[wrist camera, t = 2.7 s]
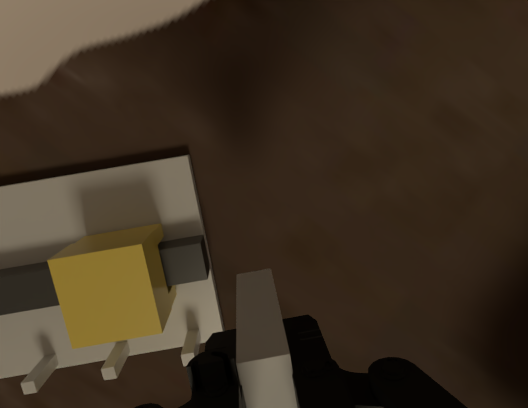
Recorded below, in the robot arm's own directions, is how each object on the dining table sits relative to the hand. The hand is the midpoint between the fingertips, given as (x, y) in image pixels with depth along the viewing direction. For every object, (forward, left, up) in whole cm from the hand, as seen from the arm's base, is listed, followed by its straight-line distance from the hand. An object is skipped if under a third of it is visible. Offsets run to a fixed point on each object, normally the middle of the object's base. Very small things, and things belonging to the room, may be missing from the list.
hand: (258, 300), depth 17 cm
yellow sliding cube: (+8, 0, -9) cm, 12 cm away
